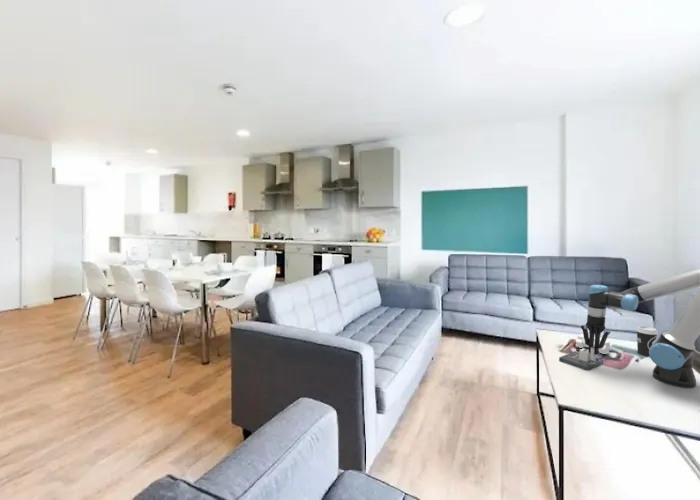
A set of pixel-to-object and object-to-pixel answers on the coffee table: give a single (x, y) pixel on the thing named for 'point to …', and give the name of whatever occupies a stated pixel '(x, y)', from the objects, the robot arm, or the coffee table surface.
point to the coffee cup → (645, 339)
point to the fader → (584, 355)
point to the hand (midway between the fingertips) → (592, 359)
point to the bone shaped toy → (581, 343)
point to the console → (580, 361)
